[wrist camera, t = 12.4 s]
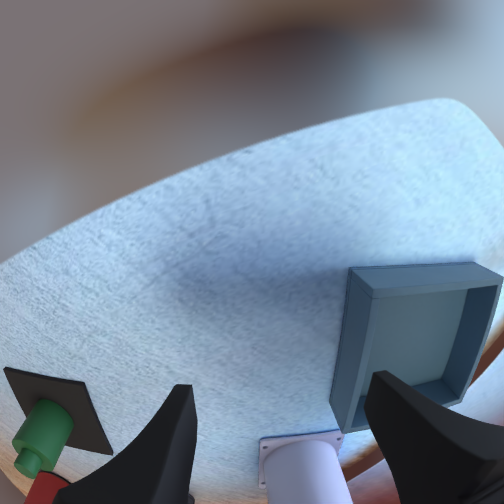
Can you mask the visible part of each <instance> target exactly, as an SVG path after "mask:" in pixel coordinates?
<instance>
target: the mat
mask: <svg viewBox="0 0 504 504" xmlns="http://www.w3.org/2000/svg"><path fill="white" fill-rule="evenodd" d="M3 370H4V373H5V375H6V377H7V380H8V382H9V384H10V386H11V388H12V390H13V392H14V394H15V397H16V399H17V401H18V403H19V404H20V406H21V408H22V410H23V412H24V414H25V416H26V418H27V417H28V415H29V413H30V412H31V410H32V409H33V407H34V406H35V404H36V403H37V402H38V400H40V399H47V400H50V401H53V402H55V403H57V404H58V405H60V406H61V407H62V408H63V409H65V410H66V411H67V412H68V414H69V415H70V416H71V418H72V420H73V423H74V427H73V429H72V431H71V433H70V435H69V437H68V439H67V441H66V444H65V446H69V447H73V448H78V449H82V450H86V451H91V452H96V453H101V454H106V455H112V456H113V450H112V448H111V446H110V444H109V442H108V440H107V438H106V435H105V433H104V431H103V429H102V427H101V424H100V422H99V420H98V417H97V415H96V412H95V410H94V407H93V405H92V402H91V400H90V397H89V395H88V392H87V389H86V386H85V384H84V383H83V382H77V381H71V380H65V379H59V378H53V377H48V376H43V375H38V374H33V373H29V372H24V371H20V370H16V369H12V368H8V367H5V368H4V369H3Z"/></svg>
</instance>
